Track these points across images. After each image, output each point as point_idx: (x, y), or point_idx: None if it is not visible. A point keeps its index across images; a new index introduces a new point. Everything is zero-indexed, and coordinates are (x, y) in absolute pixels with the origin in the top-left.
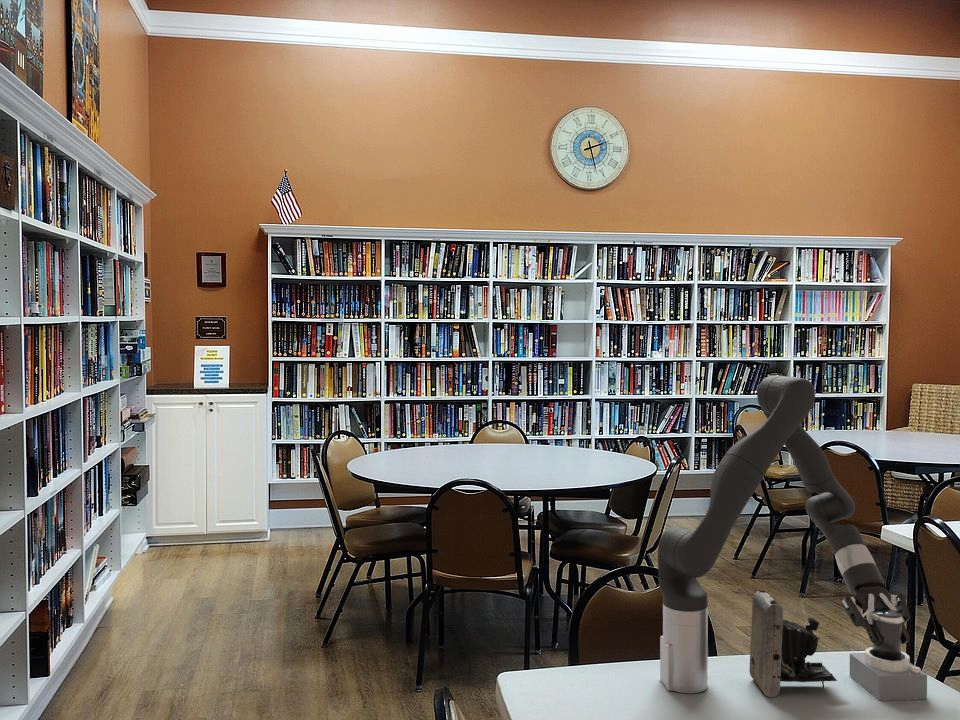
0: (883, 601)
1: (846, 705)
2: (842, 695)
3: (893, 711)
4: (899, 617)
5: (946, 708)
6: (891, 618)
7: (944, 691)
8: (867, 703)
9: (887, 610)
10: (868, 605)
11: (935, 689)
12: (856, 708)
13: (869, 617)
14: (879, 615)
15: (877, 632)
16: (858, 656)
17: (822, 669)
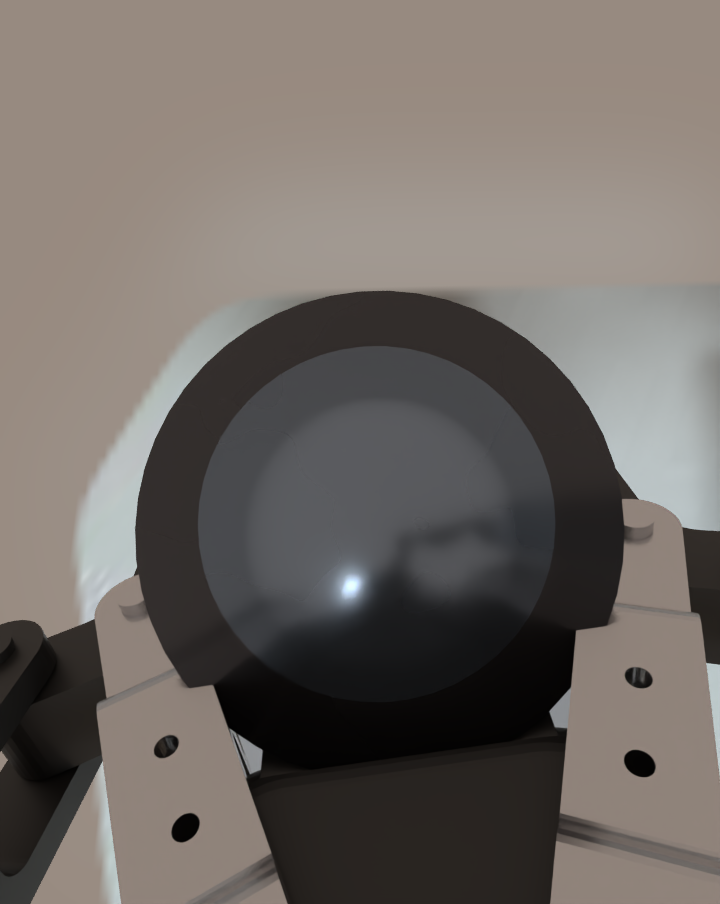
0: (277, 876)
1: (714, 347)
2: (697, 465)
3: (494, 289)
4: (265, 325)
5: (216, 326)
6: (409, 301)
7: (102, 518)
8: (591, 371)
9: (310, 632)
10: (709, 720)
11: (134, 544)
12: (672, 315)
13: (654, 566)
14: (570, 390)
15: None
16: (554, 716)
17: None
